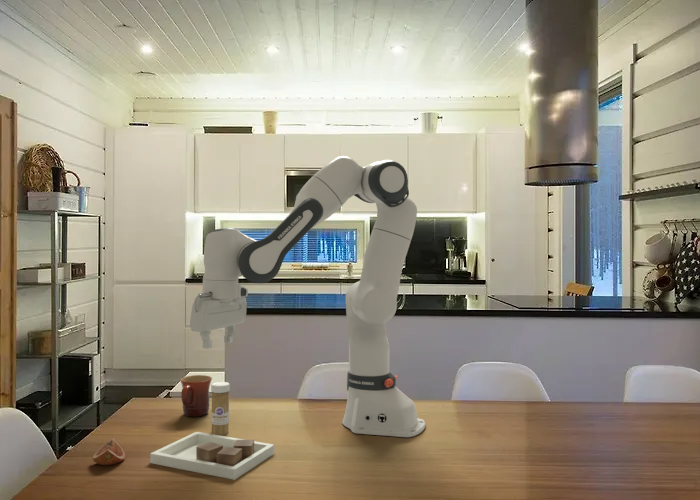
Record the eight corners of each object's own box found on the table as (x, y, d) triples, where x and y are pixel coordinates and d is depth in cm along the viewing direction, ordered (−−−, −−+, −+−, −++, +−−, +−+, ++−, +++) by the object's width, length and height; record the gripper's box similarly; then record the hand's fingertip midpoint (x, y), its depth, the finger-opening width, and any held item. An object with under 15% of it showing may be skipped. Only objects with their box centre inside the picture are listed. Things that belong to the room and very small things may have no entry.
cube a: (242, 466, 125) (242, 448, 125) (234, 474, 121) (234, 455, 121) (225, 465, 126) (225, 446, 126) (216, 472, 122) (216, 453, 122)
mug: (189, 408, 170) (189, 374, 170) (216, 410, 169) (216, 376, 169) (168, 421, 159) (168, 384, 159) (197, 423, 157) (198, 385, 157)
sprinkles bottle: (212, 439, 144) (212, 386, 144) (209, 434, 148) (209, 382, 148) (230, 437, 146) (231, 384, 146) (227, 432, 150) (227, 380, 150)
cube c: (254, 457, 130) (254, 439, 130) (251, 464, 126) (251, 445, 126) (236, 457, 130) (236, 439, 130) (233, 464, 126) (233, 445, 126)
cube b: (222, 463, 126) (222, 445, 126) (208, 469, 123) (208, 450, 123) (210, 459, 129) (210, 441, 129) (196, 465, 126) (196, 446, 125)
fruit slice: (122, 471, 124) (122, 448, 124) (88, 474, 122) (88, 450, 122) (127, 457, 132) (127, 435, 132) (95, 459, 131) (95, 437, 130)
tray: (274, 457, 133) (274, 444, 133) (234, 483, 118) (234, 469, 118) (196, 443, 141) (196, 431, 141) (150, 466, 127) (150, 453, 127)
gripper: (206, 294, 135) (204, 353, 136) (251, 289, 155) (249, 340, 155) (184, 292, 138) (182, 350, 138) (231, 288, 157) (229, 338, 157)
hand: (218, 345), depth 146 cm, fingers open, 8 cm apart
